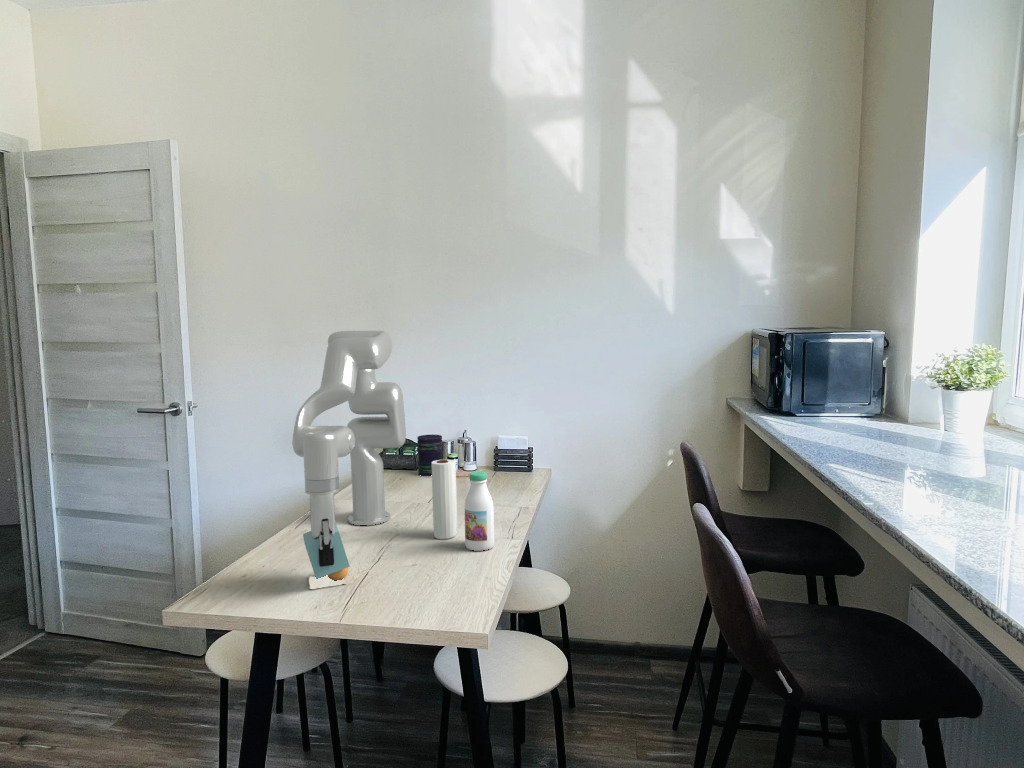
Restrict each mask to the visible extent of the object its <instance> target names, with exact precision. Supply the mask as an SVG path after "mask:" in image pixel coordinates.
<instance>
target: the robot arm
mask: <svg viewBox="0 0 1024 768" xmlns="http://www.w3.org/2000/svg"><path fill="white" fill-rule="evenodd" d="M326 348H327V349H326V354H325V359H324V364H323V370H322V375H321V376H322V377H321V382H320V387H319V388H318V389H316V391H315V392H313V394H311V395H309V397H308V398H307V399H306V400H305V401H304V403H303V404H302V405H301V406H300V408H299V410H298V411H297V414H296V416H295V421H294V427H293V433H292V449H293V451H294V454H296V455H297V456H299V457H302V458H303V467H304V468H303V472H304V492H305V494H307V495H309V514H310V515H309V516H310V520H309V521H310V522H309V523H310V531H311V533H312V537H313V538H316V537H318V536H319V544H320V549H319V566H320V567H323V566H331V565H334V548H333V545H332V536H333V535H334V534H335V522H336V518H335V517H336V511H335V510H336V506H335V505H336V504H335V502H336V501H335V493H337V492H339V491H340V480H339V479H340V476H339V474H340V473H339V458H343V457H346V456H348V455H349V456H350V468H351V471H350V473H351V491H352V492H351V493H352V495H351V496H352V497H351V498H352V513H351V514H350V515H349V516H348V517H347V521H348V522H347V523H349V524H351V525H353V524H354V525H355V526H360V525H367V526H375V524H376V525H380V523H381V524H383V522H384V523H386V522H388V521H389V520H390V519H391V513H390V512H388V511H386V507H385V505H386V504H385V503H386V502H385V498H386V497H385V478H384V477H385V476H384V474H385V473H384V461H383V459H382V457H381V455H380V454H379V453H378V451H376V449H396V448H398V449H399V448H401V447H403V446H404V444H405V443H406V437H407V430H406V429H407V428H406V418H405V417H406V416H405V415H406V414H405V405H404V403H405V402H404V396H403V392H402V388H401V386H400V385H399V384H398V383H396V382H390V381H386V382H385V381H383V382H378V381H377V379H376V371H375V370H378V369H381V368H382V367H383V366H384V365H385V363H387V361H388V360H389V358H390V357H391V353H392V349H393V343H392V339H391V336H390V334H389V333H388V332H387V331H384V330H344V331H343V330H342V331H335V332H332V333H331V334H330V335H329V336H328V338H327V347H326ZM346 402H348V407H349V409H350V411H351V413H353V414H355V415H359V416H360V415H362V416H361V417H355V418H352V419H351V420H349V422H348V423H347V425H312V423H313V422H314V420H315V419H316V418H317V417H318V416H320V415H322V413H324V412H327V411H328V410H331V409H332V408H335V407H336V406H340V405H342V404H343V403H346ZM364 415H365V416H364ZM366 415H368V416H366ZM369 415H371V416H369ZM372 415H375V416H372ZM376 415H386V416H376ZM331 531H332V532H331ZM322 533H323V535H321V534H322ZM329 533H330V534H329ZM322 538H324V540H322Z"/></svg>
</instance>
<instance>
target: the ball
mask: <svg viewBox="0 0 1024 768" xmlns="http://www.w3.org/2000/svg"><path fill="white" fill-rule="evenodd" d="M348 572H349V567H347V568H345V569H342V570H339V571H337V572H334V573H331V574H329V575H328V577H329V578H330V579H332V580H334V581H337V580H342V579H343V578H344V579H345V578H346V577H347V575H348Z"/></svg>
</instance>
